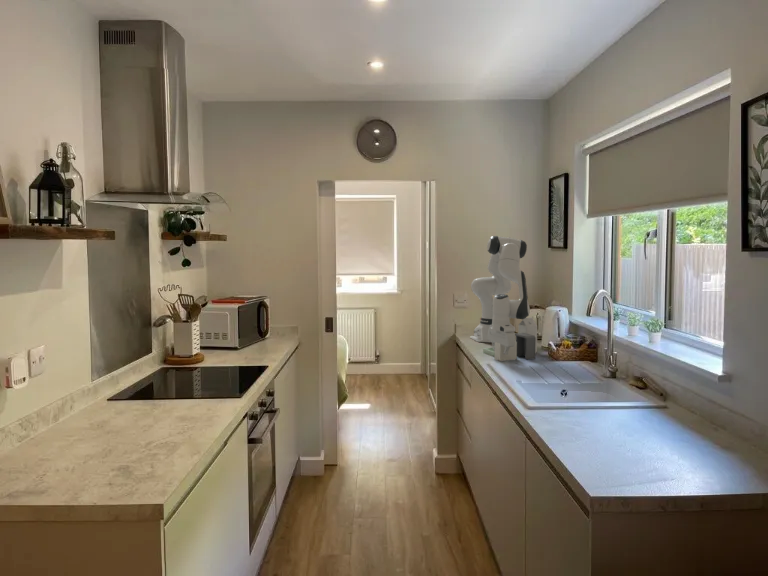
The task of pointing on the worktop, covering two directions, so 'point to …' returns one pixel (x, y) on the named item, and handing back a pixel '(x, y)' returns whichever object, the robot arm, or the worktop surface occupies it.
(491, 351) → the tray
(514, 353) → the cream box grey panel
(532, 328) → the milk carton
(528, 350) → the open-top grey box
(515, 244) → the robot arm
